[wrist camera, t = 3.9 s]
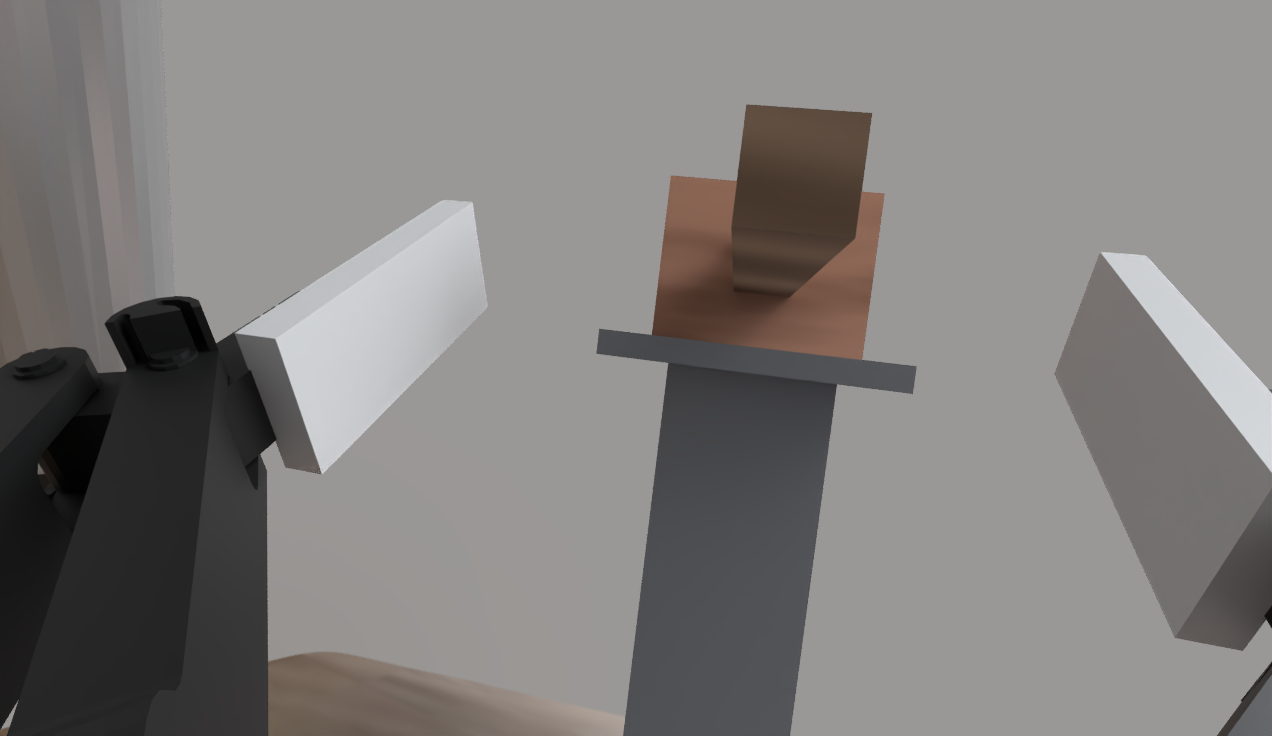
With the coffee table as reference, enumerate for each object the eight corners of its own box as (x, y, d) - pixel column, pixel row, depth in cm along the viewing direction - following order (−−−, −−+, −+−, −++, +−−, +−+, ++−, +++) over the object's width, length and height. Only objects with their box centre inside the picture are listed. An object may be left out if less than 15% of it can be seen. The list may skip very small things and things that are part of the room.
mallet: (1019, 377, 13) (1073, -1, 12) (557, 322, 14) (596, -22, 14) (837, 357, 36) (855, 223, 35) (667, 337, 37) (683, 207, 36)
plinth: (822, 1045, 26) (916, 366, 24) (528, 945, 28) (599, 328, 27) (813, 829, 37) (877, 362, 36) (605, 772, 40) (658, 336, 39)
